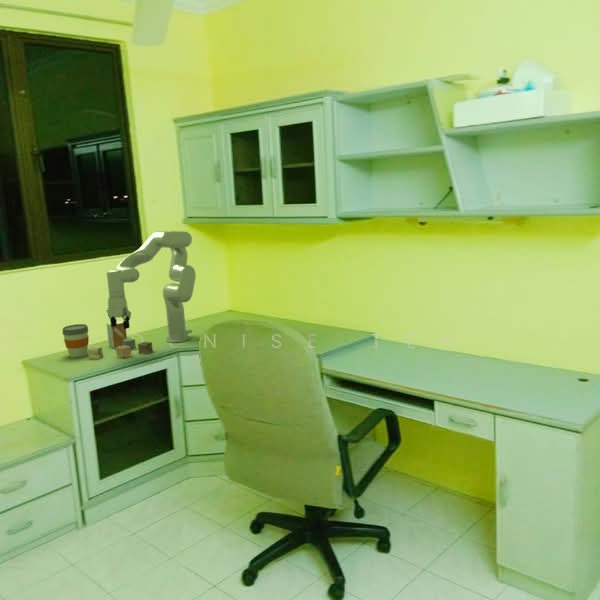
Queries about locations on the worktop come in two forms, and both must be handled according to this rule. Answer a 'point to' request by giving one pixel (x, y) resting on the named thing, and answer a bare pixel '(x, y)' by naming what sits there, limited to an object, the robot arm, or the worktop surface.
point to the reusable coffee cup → (76, 339)
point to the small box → (116, 334)
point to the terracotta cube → (123, 351)
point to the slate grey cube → (129, 343)
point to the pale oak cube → (95, 352)
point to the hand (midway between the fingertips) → (120, 327)
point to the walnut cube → (145, 347)
